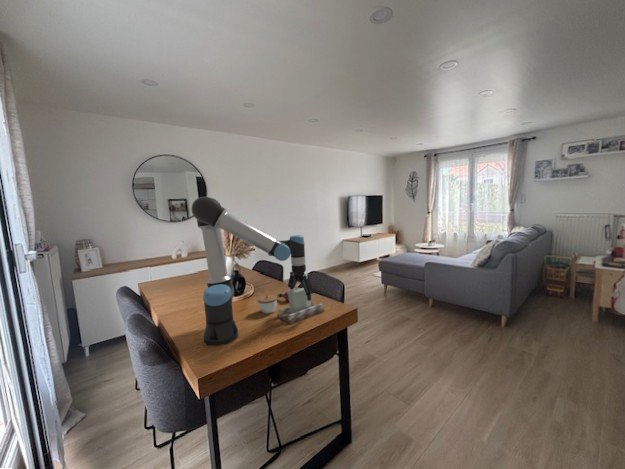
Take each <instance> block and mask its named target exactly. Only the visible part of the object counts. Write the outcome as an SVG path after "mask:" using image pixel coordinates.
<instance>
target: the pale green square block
mask: <svg viewBox="0 0 625 469" xmlns="http://www.w3.org/2000/svg"><path fill="white" fill-rule="evenodd" d="M305 294H306V292H305V290H304V288H303V287H302V288H300V287H299V289H297V290H293V291H290V292H289V301H288V302H289V306H290V314H292V313H295V312H298V311H301V310H304V309H307V308H309V307H312V304H313V299H312V295H311V306H308V307H306V298H305Z"/></svg>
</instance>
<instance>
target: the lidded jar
mask: <svg viewBox="0 0 625 469" xmlns="http://www.w3.org/2000/svg"><path fill="white" fill-rule="evenodd" d="M277 300H278V298H277V296H276V295H273V294H269V295H268V294H267V295H263V296H260V297H258V298H257V303H258V304H257V305H258V309H259V310H260V311H261V312H262V313H263V314H271V313H273V312H274V311H275V310H276V309H277V306H278V305H277V304H278V301H277Z"/></svg>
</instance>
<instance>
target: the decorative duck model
mask: <svg viewBox="0 0 625 469" xmlns="http://www.w3.org/2000/svg"><path fill="white" fill-rule="evenodd" d="M297 289H300V287H299V288H298V287H295V290H297ZM290 291H291V290H290V288H288V289H287V290H286V291H285V293H284V294H283V293H278V294H277V296H276V297H277V299H279V298H284V300H286V301H288V302H289V292H290Z"/></svg>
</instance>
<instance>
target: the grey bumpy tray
mask: <svg viewBox="0 0 625 469" xmlns="http://www.w3.org/2000/svg"><path fill="white" fill-rule="evenodd" d="M277 312H278V314H277V317H278V318H279V319H282V320H284V321H285V322H287V323H289V324H291V325H293V324H296V323H298V322H301V321H303V320H306V319H308V318H312V317H314V316H316V315H319V314H321V313H324V312H325V308H324V304H323V303H318V304H314V303H312V307H309V308H307V309H304V310H301V311H298V312H295V313H292V314H290V305H289V306H286V307H282V308H280V309H278V311H277Z"/></svg>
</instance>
